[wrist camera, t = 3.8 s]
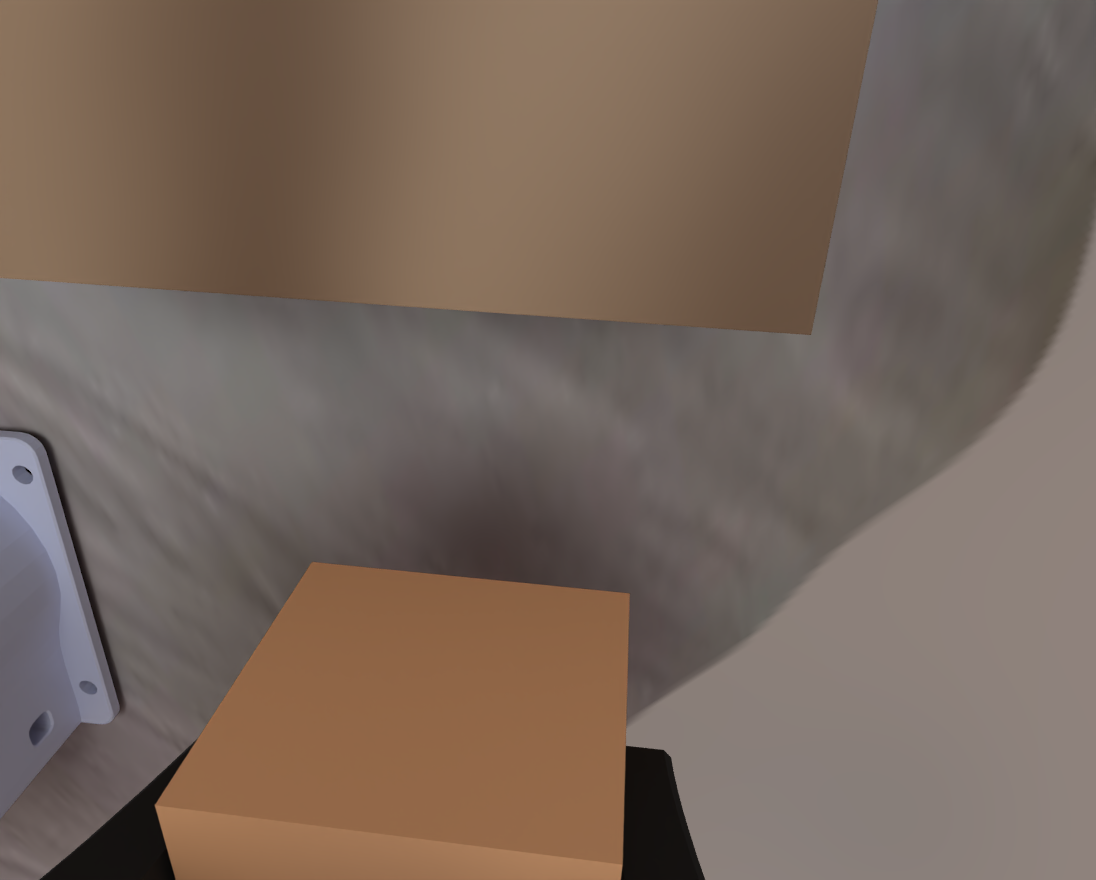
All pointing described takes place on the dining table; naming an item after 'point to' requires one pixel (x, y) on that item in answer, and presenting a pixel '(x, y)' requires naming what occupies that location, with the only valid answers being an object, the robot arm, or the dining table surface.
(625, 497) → the dining table surface
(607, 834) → the block
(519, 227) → the wooden box
